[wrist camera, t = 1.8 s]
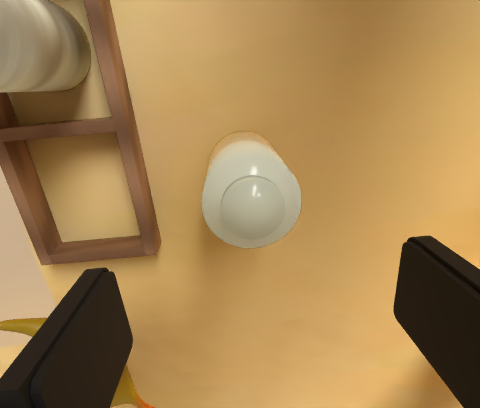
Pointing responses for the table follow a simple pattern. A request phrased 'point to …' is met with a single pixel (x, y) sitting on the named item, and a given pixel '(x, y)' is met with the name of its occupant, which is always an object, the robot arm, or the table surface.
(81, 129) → the walnut tray
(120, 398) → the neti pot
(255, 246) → the celadon canister
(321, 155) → the table surface
